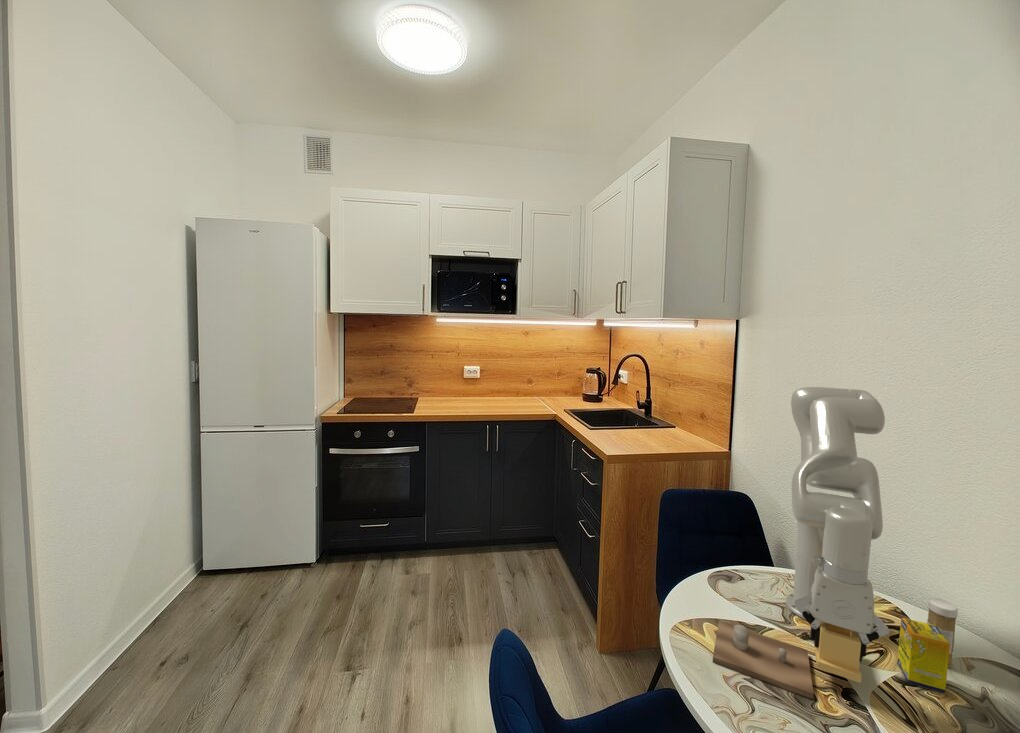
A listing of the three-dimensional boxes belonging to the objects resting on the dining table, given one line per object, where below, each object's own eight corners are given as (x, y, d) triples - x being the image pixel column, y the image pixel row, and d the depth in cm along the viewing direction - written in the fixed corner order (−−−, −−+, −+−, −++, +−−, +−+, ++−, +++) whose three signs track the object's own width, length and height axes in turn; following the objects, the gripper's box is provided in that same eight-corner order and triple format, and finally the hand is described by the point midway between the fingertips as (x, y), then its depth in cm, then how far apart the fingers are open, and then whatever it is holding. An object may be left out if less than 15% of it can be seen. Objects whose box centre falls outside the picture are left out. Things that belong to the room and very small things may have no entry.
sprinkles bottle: (954, 663, 94) (960, 605, 93) (949, 671, 91) (955, 612, 90) (926, 650, 98) (931, 594, 97) (920, 658, 95) (925, 601, 94)
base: (718, 625, 105) (719, 605, 104) (806, 654, 95) (808, 632, 95) (712, 661, 93) (713, 639, 92) (813, 699, 83) (814, 674, 83)
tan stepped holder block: (860, 683, 83) (864, 648, 83) (817, 668, 87) (820, 634, 86) (847, 633, 97) (850, 603, 96) (810, 622, 100) (813, 593, 99)
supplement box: (896, 663, 93) (900, 616, 93) (932, 673, 91) (936, 625, 90) (907, 683, 88) (912, 633, 87) (946, 694, 85) (951, 643, 85)
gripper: (794, 565, 88) (788, 645, 90) (905, 593, 79) (895, 681, 81) (792, 549, 95) (786, 624, 96) (894, 573, 86) (886, 654, 88)
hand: (836, 649), depth 89 cm, fingers closed on tan stepped holder block, 6 cm apart
